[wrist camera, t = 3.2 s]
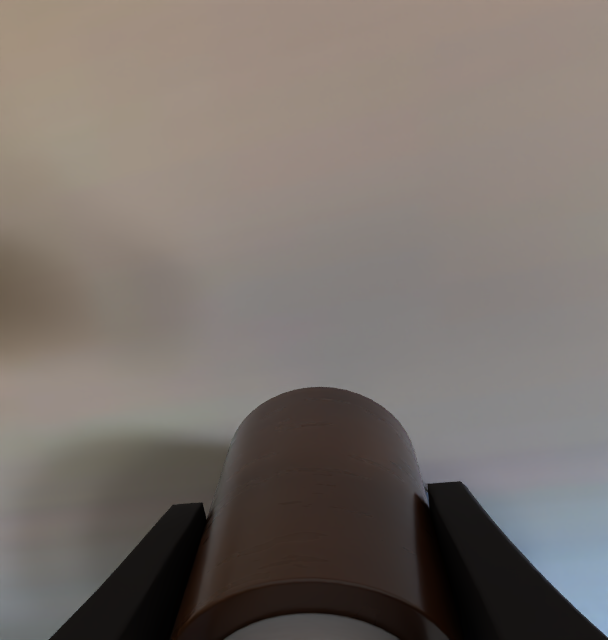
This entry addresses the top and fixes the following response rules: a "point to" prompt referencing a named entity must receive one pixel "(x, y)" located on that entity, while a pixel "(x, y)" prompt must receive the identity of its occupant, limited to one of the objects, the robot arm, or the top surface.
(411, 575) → the pepper mill
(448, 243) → the top surface
